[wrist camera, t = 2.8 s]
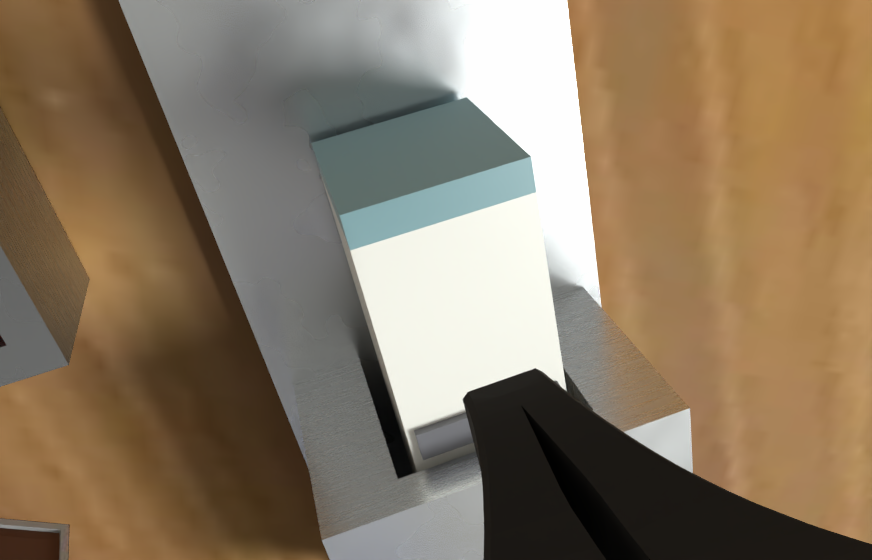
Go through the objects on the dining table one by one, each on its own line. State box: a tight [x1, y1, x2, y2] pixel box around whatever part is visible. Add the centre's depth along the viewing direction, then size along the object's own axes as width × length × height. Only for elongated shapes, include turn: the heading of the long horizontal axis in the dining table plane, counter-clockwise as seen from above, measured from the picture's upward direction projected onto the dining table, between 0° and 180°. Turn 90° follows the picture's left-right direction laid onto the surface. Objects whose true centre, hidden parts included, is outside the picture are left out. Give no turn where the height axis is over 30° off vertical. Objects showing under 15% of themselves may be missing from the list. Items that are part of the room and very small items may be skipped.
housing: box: [119, 0, 693, 560], centre depth 20 cm, size 21×10×7 cm, turn 12°
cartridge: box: [311, 97, 567, 474], centre depth 21 cm, size 14×4×5 cm, turn 12°
